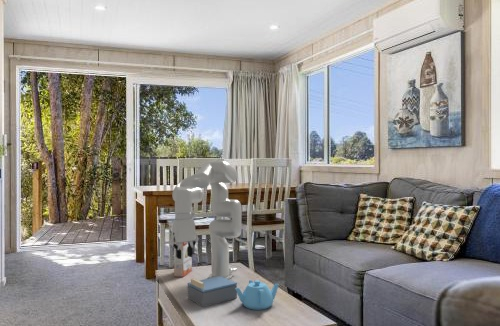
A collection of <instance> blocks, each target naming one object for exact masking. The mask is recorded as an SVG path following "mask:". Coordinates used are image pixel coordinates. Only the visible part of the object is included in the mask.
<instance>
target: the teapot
mask: <svg viewBox="0 0 500 326" xmlns="http://www.w3.org/2000/svg"><path fill="white" fill-rule="evenodd" d="M279 286H280V284H279V283H274V284H273V287H272V288H271V289H270V287H269V286H268V285H267V283H265V282H263V281H262V282H261V280H258V279H256V280H254V281H253V280H251V279H250V280H248V284H247V285H246V287H245V288H244V290H243V292H242V290H241V288H240V287H237V288H235V289H236V291H237V297H238V298H239V301H240V302H241V303H242V305H243V306H244V307H245V308H246V309H249V310H254V311H256V310H257V311H259V310H266V309H268V308H270V307H271V306H272V305H273V303H274V300H275V298H276V295H277V293H278V288H279Z"/></svg>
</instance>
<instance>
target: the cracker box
mask: <svg viewBox="0 0 500 326" xmlns="http://www.w3.org/2000/svg"><path fill="white" fill-rule="evenodd" d="M173 243H174V244H176V242H173ZM187 248H188V242H184V243H181V247H180V250H181V259H178V258H177V257H176V249H175V248H174V247H173V255H174V256H173V265H174V266H173V276H174V277H178V278H179V277H180V278H184V277H185V276H186V275H188V274H190V273H191V272H192V271H193V270H192V269H193V266H192V265H193V264H192V263H193V260H192V259H193V256H192V257H189V256H187Z"/></svg>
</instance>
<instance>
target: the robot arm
mask: <svg viewBox="0 0 500 326" xmlns="http://www.w3.org/2000/svg"><path fill="white" fill-rule="evenodd" d="M237 179H238V172H237V169H236V168H235V166H233V165H232V164H230V163H229V162H227V161H224V160H208V161H205V162H204V163H203V164H202V165H201V166H200V167H199V169H198V170H197V171H196V173H194V174H191V175H190V176H187V177H185V178H183V179H182V180H180V181H179V182H178V183H177V184H176V186H175V187H174V188H173V190H172V193H171V195H172V200H173V201H174V219H173V221H172V226H171V238H170V239H169V241H168V244H169V245H171V246H172V247H173V249H174V248H175V249H176V257H177V258H178V259H181V250H180V247H181V243H184V242H188V248H187V256H189V257H192V258H193V251H194V249H193V248H194V247H195V245H196V244H197V242H198V241H200V237H198V235H197V233H196V225H195V219H194V218H193V217H194V216H195V212H194V211H193V204H198V203H201V202H202V201H203V200H204V197H205V194H204V193H205V192H204V190H203V189H205V188H207V187H209V186H210V187H211V189H212V206H211V207H212V214H213V216H215V217H217V219H212V220H211V221H210V222H209V225H208V230H209V237H210V248H211V249H210V251H211V255H210V258H211V273H210V274H209V275H208V279H209V278H214V277H218V276H221V277H224V278H226V279H229V280H231V279H232V278H233V275H232V273H236V272H237V271H238V270H237V268H236V267H234V268H232V267H230V252H229V251H230V249H229V248H230V247H229V245H230V244H229V242H228V241H227V238H229V239H230V238H234V239H235V238H239V237H240V236H241V234H242V215H243V214H242V212H243V211H242V210H243V209H242V203H241V201H239V200H238V199H233V198H232V199H229V189H228V186H227V185H226V184H232V183H236V182H237ZM218 217H221V218H222V219H220V218H219V219H218ZM223 218H231V219H223ZM174 242H176V244H174Z"/></svg>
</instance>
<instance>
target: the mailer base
mask: <svg viewBox="0 0 500 326" xmlns="http://www.w3.org/2000/svg"><path fill="white" fill-rule="evenodd" d="M237 286H238V284H237V285H233V286H229V287H225V288H220V289H216V290H212V291H208V292H201V291H199V290H197V289H195V288H193V287H191V286H189V285H187V300H190V301H192V302H193V303H195V304H197V305H199V306H201V307H202V308H203V307H208V306H211V305H215V304H219V303H223V302H227V301H231V300H235V299H237V298H238V294H237V291H236V289H235V288H238V287H237Z"/></svg>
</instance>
